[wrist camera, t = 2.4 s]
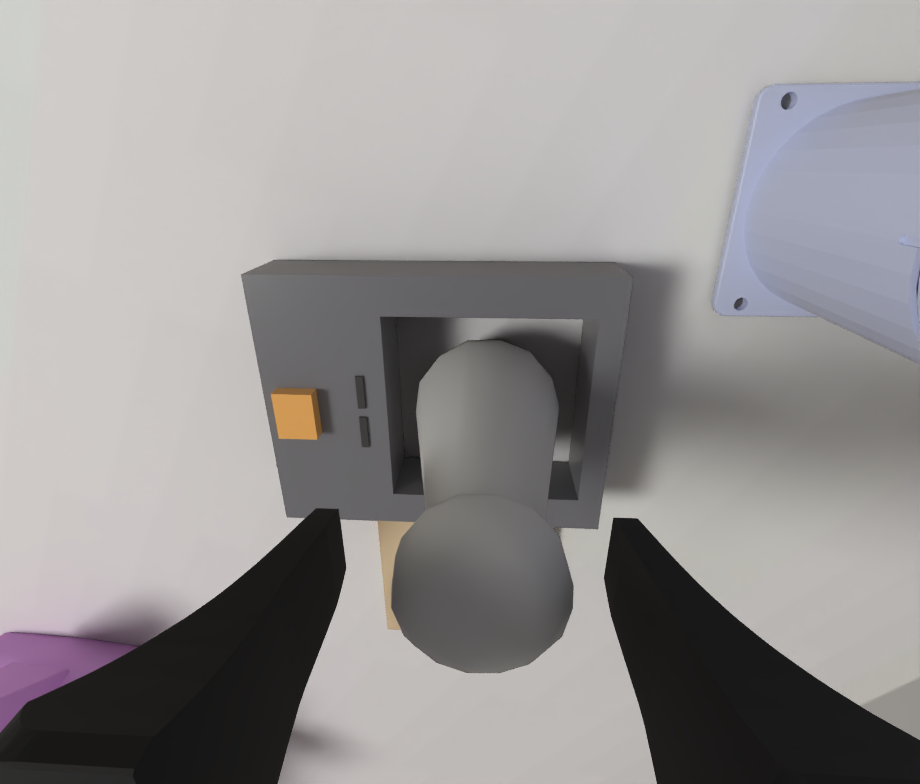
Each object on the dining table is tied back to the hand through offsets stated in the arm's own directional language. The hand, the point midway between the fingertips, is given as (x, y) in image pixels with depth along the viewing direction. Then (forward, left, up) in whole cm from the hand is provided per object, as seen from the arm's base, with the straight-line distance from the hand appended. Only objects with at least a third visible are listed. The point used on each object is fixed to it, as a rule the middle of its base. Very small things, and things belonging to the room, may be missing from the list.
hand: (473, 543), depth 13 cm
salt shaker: (0, 0, -11) cm, 11 cm away
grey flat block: (+2, 0, -10) cm, 11 cm away
